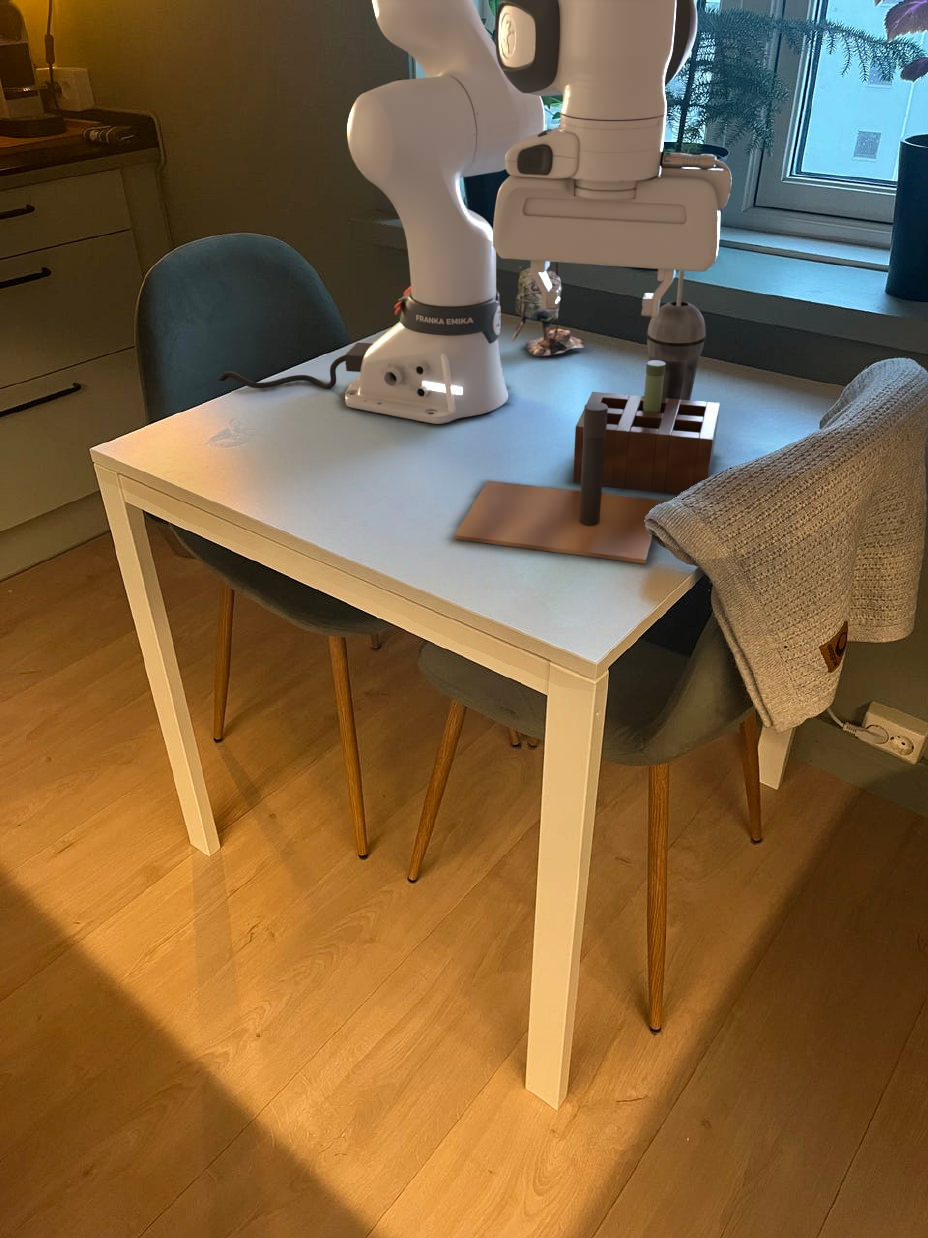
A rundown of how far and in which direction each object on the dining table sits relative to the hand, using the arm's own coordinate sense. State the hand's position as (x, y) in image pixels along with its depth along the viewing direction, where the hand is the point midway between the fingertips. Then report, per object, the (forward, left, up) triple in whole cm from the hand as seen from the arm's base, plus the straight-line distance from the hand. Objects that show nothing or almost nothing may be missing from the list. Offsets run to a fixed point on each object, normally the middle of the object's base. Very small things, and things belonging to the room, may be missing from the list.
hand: (599, 311), depth 90 cm
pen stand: (+4, +14, -23) cm, 27 cm away
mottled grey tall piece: (-16, +52, -23) cm, 59 cm away
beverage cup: (+5, +28, -23) cm, 37 cm away
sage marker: (+4, +16, -23) cm, 28 cm away
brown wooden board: (-3, 0, -23) cm, 23 cm away
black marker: (0, -1, -22) cm, 22 cm away
